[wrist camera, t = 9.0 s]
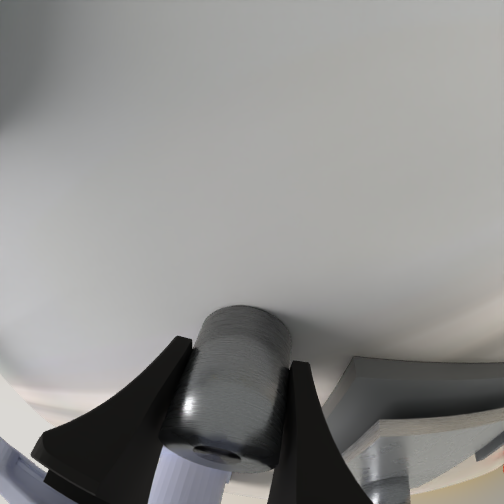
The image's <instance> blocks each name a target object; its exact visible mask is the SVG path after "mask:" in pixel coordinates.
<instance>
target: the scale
mask: <svg viewBox="0 0 504 504" xmlns="http://www.w3.org/2000/svg"><path fill="white" fill-rule="evenodd" d="M499 408H504V363H431V362H412V361H397V360H385V359H374V358H364V357H355V356H354V357H353V359H352V361H351V363H350V364H349V366H348V368H347V369H346V371H345V373H344V374H343V376H342V378H341V379H340V381H339V382H338V384H337V386H336V387H335V389H334V390H333V392H332V394H331V395H330V397H329V398H328V400H327V401H326V403H325V404H324V406H323V407H322V411H323V414H324V417H325V420H326V422H327V425H328V427H329V430H330V432H331V435H332V437H333V439H334V441H335V443H336V445H337V448H338V450H339V452H340V454H342V453H343V452H345V451H346V450H347V449H348V448H349V447H350V446H351V445H353V444H354V443H355V442H356V441H357V440H358V439H359V438H360V437H361V436H362V435H363V434H365V433H366V432H367V431H368V430H369V429H370V428H371V427H372V426H373V425H374V424H375V423H376V422H377V421H378V420H379V419H419V418H434V417H445V416H454V415H463V414H470V413H477V412H483V411H488V410H494V409H499ZM503 445H504V431H503V432H502V433H501V434H500V435H498V436H497V437H496V438H495V439H493V440H492V441H491V442H489V443H488V444H487V445H485V446H484V447H483V448H481V449H480V450H479V451H477V452H476V453H475V456H476V461H480V460H483V459H484V458H486V457H487V456H489V455H490V454H492V453H493V452H494V451H496V450H497V449H499V448H500V447H501V446H503Z"/></svg>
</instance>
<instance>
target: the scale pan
mask: <svg viewBox="0 0 504 504" xmlns="http://www.w3.org/2000/svg"><path fill="white" fill-rule="evenodd" d="M503 431H504V408H499V409H494V410H488V411H483V412H477V413H470V414H463V415H454V416H445V417H434V418H419V419H379V420H378V421H377V422H376V423H375V424H374V425H373V426H372V427H371V428H370V429H369V430H368V431H367V432H366V433H365V434H363V435H362V436H361V437H360V438H359V439H358V440H357V441H356V442H355V443H354V444H353V445H351V446H350V447H349V448H348V449H347V450H346V451H345V452H343V453H342V454H341V455H342V457H343V459H344V461H345V463H346V465H347V466H348V468H349V469H350V471H351V473H352V474H353V476H354V477H355V479H356V480H357V482H358V483H359V485H360V486H361V487H362V486H364V485H367V484H370V483H373V482H377V481H381V480H385V479H390V478H396V477H409V485H410V489H411V488H416V487H419V486H421V485H423V484H425V483H427V482H428V481H430V480H432V479H434V478H436V477H438V476H439V475H441V474H443V473H445V472H446V471H448V470H450V469H451V468H453V467H455V466H456V465H458V464H459V463H461V462H462V461H464V460H465V459H467V458H468V457H470V456H471V455H473V454H474V453H476V452H477V451H479V450H480V449H481V448H483V447H484V446H485V445H487V444H488V443H489V442H491V441H492V440H493V439H495V438H496V437H497V436H498V435H500V434H501V433H502V432H503Z"/></svg>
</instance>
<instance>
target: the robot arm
mask: <svg viewBox="0 0 504 504" xmlns="http://www.w3.org/2000/svg"><path fill="white" fill-rule="evenodd" d="M191 352H192V339H188V338H185V337H181V336H176V337H175V338H174V339H173V340H172V341H171V343H170V344H169V345H168V346H167V347H166V348H165V349H164V351H163V352H162V353H161V354H160V355H159V356H158V357H157V358H156V359H155V360H154V361H153V362H152V363H151V364H150V365H149V366H148V367H147V368H146V369H145V370H144V371H143V372H142V373H141V374H140V375H138V376H137V377H136V378H135V379H134V380H133V381H132V382H130V383H129V384H128V385H127V386H126V387H125V388H123V389H122V390H121V391H119V392H118V393H117V394H115V395H114V396H113V397H111V398H110V399H109V400H107V401H106V402H104V403H102V404H101V405H99V406H98V407H96V408H95V409H93V410H91V411H90V412H88V413H86V414H84V415H82V416H80V417H78V418H76V419H74V420H72V421H70V422H68V423H66V424H63V425H61V426H58V427H56V428H53V429H50V430H48V431H45V432H43V434H42V435H41V437H40V438H39V440H38V441H37V443H36V445H35V447H34V449H33V451H32V452H31V457H32V458H34V459H35V460H36V461H38V462H39V463H41V464H42V465H44V466H45V467H47V468H48V469H49V470H48V472H47V473H46V472H45V471H43V470H41V469H40V468H39V467H37V466H36V465H35V464H34V463H33V462H32V461H30V460H29V459H28V458H26V457H25V456H24V455H22V454H21V453H20V452H19V451H17V450H16V449H15V448H13V447H12V446H10V445H9V444H8V443H7V442H6V441H5V440H3V439H2V438H1V437H0V494H1V495H2V496H3V497H4V498H5V499H6V500H7V502H8V503H9V504H221V500H222V495H223V491H224V487H225V483H229V480H230V477H231V474H232V472H229V471H223V470H218V469H213V468H209V467H206V466H203V465H200V464H197V463H194V462H191V461H189V460H187V459H184V458H182V457H180V456H178V455H177V454H175V453H173V452H172V451H170V450H169V449H168V448H166V447H165V446H164V445H163V444H162V443H161V442H160V440H159V438H158V434H159V432H160V429H161V426H162V424H163V421H164V419H165V416H166V414H167V411H168V409H169V406H170V404H171V401H172V399H173V396H174V394H175V391H176V389H177V386H178V384H179V381H180V379H181V376H182V374H183V371H184V369H185V367H186V364H187V362H188V359H189V357H190V354H191ZM159 457H160V460H159ZM158 461H159V462H158ZM157 464H158V465H157ZM267 504H374V503H373V502H372V501H371V499H370V498H369V497H368V496H367V494H366V493H365V492H364V490H363V489H362V488H361V486H360V485H359V483H358V482H357V480H356V479H355V477H354V476H353V474H352V473H351V471H350V469H349V468H348V466H347V465H346V463H345V461H344V459H343V457H342V455H341V454H340V452H339V450H338V448H337V445H336V443H335V441H334V439H333V437H332V435H331V432H330V430H329V427H328V425H327V422H326V420H325V417H324V414H323V411H322V408H321V405H320V402H319V399H318V396H317V392H316V389H315V385H314V381H313V377H312V372H311V367H310V364H309V363H308V362H301V361H295V360H293V362H292V365H291V367H290V370H289V378H288V389H287V399H286V409H285V418H284V427H283V435H282V443H281V451H280V459H279V464H278V466H277V467H276V468H274V474H273V479H272V484H271V489H270V494H269V498H268V502H267Z"/></svg>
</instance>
